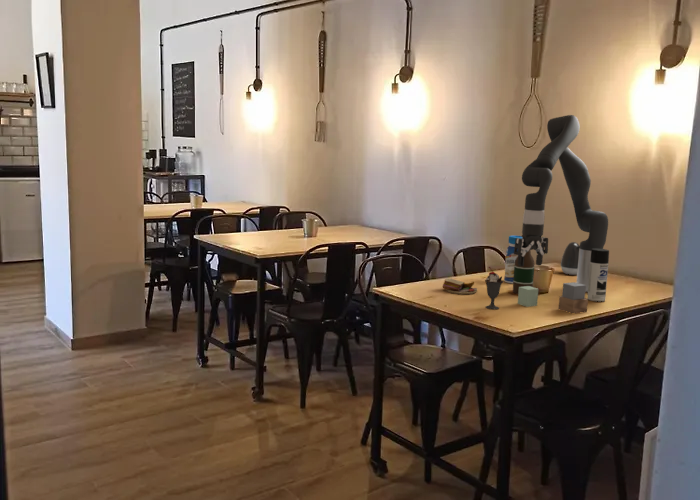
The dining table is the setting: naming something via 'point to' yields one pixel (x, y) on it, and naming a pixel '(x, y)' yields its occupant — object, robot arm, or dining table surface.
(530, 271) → the beer bottle
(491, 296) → the sundae
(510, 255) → the beverage bottle
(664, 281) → the dining table surface
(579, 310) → the plinth
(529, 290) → the block
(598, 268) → the spray can
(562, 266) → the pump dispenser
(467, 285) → the toy sandwich meal
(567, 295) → the cube
